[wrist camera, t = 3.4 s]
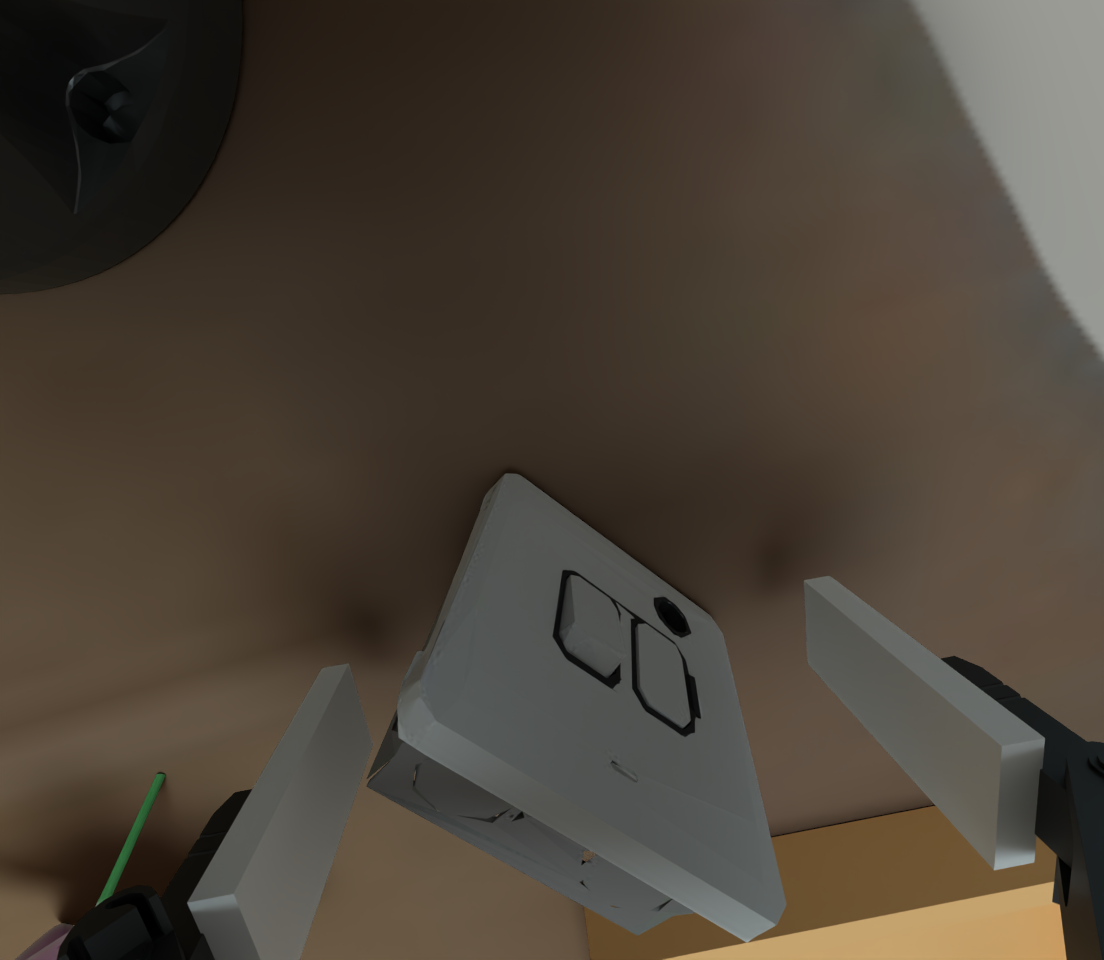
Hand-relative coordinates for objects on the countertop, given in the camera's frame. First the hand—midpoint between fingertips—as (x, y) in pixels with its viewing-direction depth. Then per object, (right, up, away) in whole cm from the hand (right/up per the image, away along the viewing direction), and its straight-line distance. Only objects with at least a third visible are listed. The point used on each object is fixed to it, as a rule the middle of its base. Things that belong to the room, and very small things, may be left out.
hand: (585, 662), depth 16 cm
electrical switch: (0, +1, +3) cm, 4 cm away
